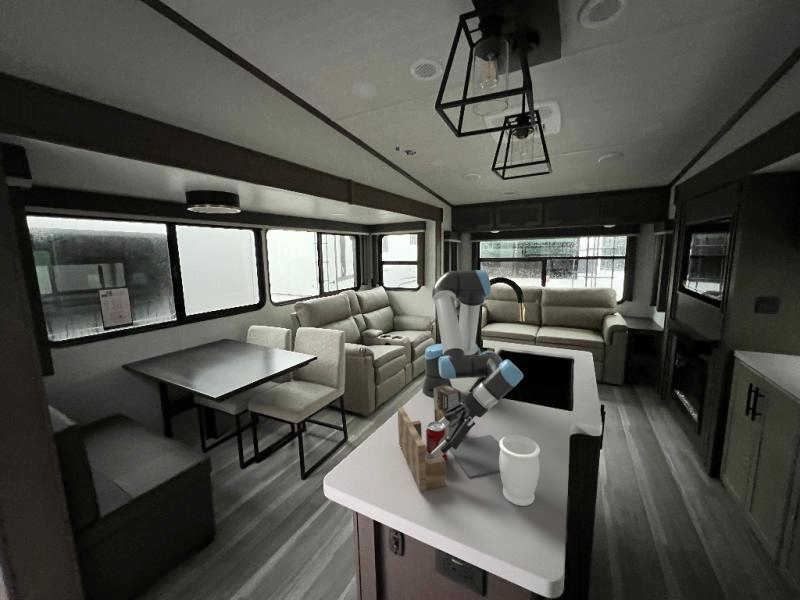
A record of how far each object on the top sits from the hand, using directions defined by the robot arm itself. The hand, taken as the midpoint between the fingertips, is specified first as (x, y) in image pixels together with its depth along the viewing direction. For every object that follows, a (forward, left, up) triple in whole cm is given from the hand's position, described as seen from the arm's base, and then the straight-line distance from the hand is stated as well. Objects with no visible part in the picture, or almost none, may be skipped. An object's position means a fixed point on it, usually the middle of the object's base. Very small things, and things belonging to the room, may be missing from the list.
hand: (433, 443), depth 101 cm
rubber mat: (+2, +16, -6) cm, 17 cm away
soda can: (0, +1, -6) cm, 6 cm away
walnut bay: (0, -5, -6) cm, 8 cm away
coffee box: (-17, +12, -6) cm, 22 cm away
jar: (+21, +17, -6) cm, 28 cm away
